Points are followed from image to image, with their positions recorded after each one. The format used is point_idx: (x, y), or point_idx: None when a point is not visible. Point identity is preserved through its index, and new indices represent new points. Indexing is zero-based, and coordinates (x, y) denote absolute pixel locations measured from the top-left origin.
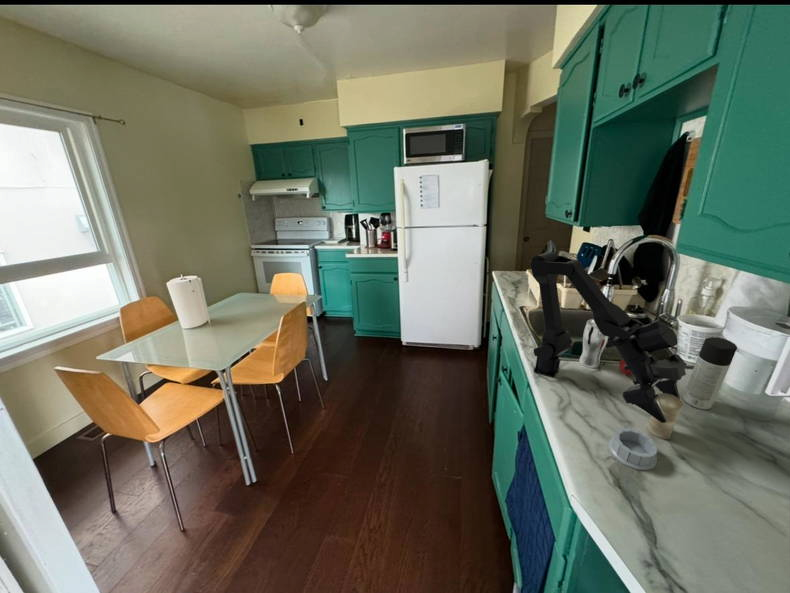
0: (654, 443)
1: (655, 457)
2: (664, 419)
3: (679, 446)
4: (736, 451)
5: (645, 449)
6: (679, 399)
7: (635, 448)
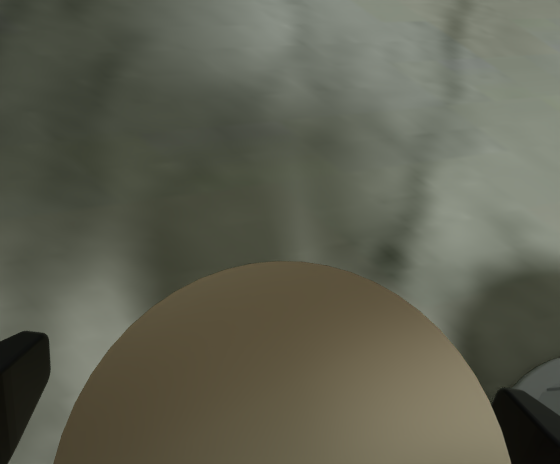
0: None
1: (555, 370)
2: (548, 410)
3: None
4: (108, 75)
5: None
6: (136, 341)
7: None
